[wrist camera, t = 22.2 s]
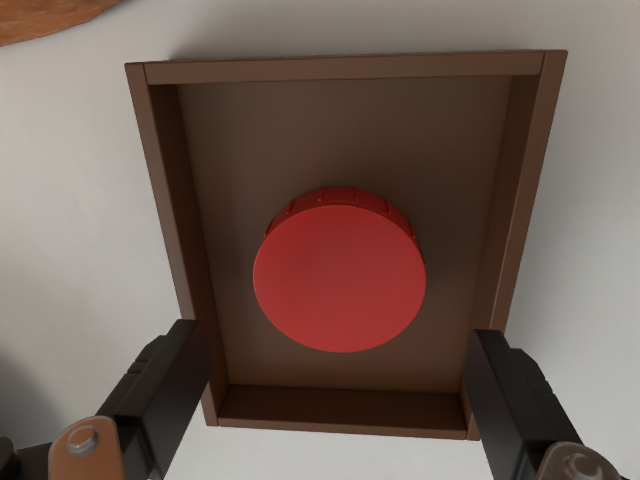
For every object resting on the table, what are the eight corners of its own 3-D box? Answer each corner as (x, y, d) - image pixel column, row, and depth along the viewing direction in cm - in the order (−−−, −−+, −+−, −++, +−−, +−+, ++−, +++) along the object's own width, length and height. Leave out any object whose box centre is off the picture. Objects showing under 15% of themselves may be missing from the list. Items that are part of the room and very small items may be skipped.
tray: (527, 49, 13) (569, 49, 10) (464, 390, 19) (480, 441, 17) (165, 60, 14) (122, 63, 11) (224, 380, 20) (206, 426, 18)
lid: (269, 320, 17) (260, 350, 16) (255, 185, 15) (242, 203, 13) (413, 325, 17) (419, 356, 15) (426, 186, 14) (436, 205, 12)
